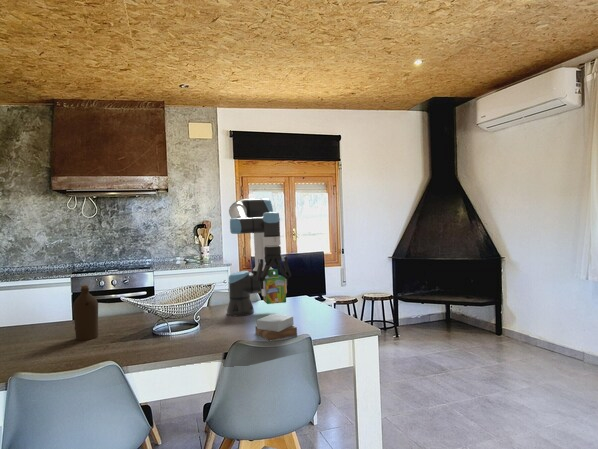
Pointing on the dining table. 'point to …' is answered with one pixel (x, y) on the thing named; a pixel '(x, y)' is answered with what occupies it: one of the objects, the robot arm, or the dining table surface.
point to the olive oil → (85, 315)
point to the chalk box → (275, 288)
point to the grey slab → (275, 322)
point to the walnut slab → (277, 333)
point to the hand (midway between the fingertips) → (274, 294)
